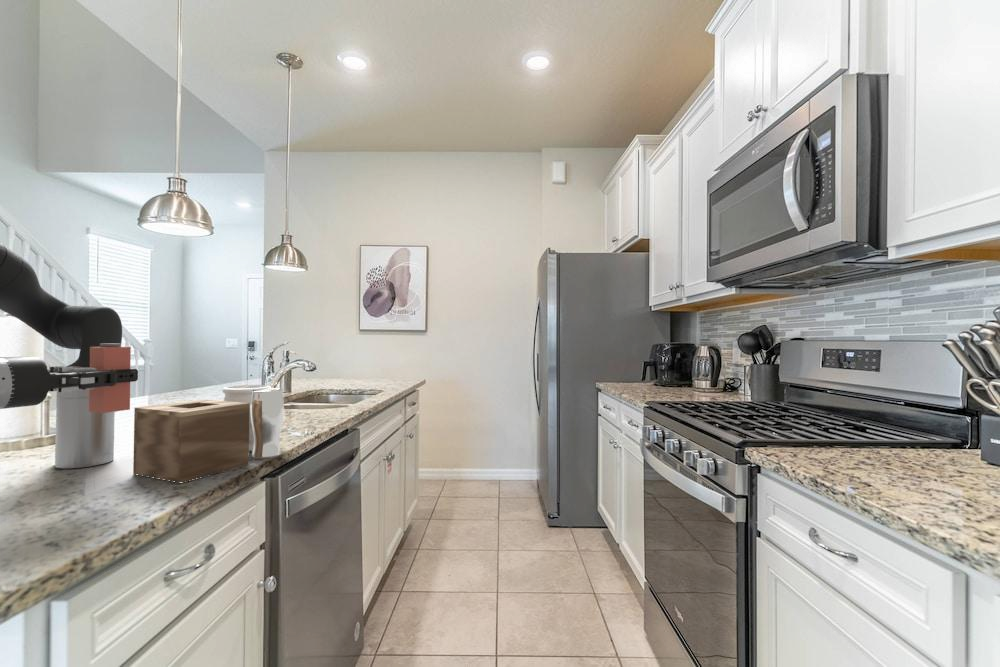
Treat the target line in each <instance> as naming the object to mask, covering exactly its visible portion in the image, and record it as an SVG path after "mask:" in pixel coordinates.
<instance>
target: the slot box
mask: <svg viewBox="0 0 1000 667" xmlns="http://www.w3.org/2000/svg"><path fill="white" fill-rule="evenodd" d="M133 412H134V413H133V414H134V419H133V422H134V424H133V468H132V469H133V472H132V474H138V475H143V476H149V477H154V478H160V479H165V480H170V481H175V482H185V481H189V480H192V479H196V478H200V477H203V478H205V477H204V476H207V477H209V476H208V475H211V476H213V475H212V474H214V475H217V474H216V473H218V474H221V473H224V471H225V472H228V471H232V470H236V469H238V468H242V467H243V468H244V467H245V466H248V465H250V464H249V462H250V459H249V458H250V457H249V455H250V452H249V412H250V403H242V402H230V401H224V400H217V399H215V400H214V399H205V398H204V399H198V400H197V399H196V400H189V401H179V402H171V403H170V402H169V403H165V404H164V403H163V404H156V405H155V404H154V405H145V406H137V407H134V411H133ZM220 472H221V473H220ZM143 476H142V477H143ZM200 479H201V478H200ZM196 480H197V479H196ZM189 482H190V481H189Z"/></svg>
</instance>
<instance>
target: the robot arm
mask: <svg viewBox="0 0 1000 667" xmlns="http://www.w3.org/2000/svg"><path fill="white" fill-rule="evenodd" d="M0 310H1V311H3V312H4V313H7V314H8V315H10V316H13V317H14V318H16V319H18V320H19V321H21V322H22V323H24V324H26V325H27V326H28V327H29V328H31V329H33V331H36V332H37V333H38V334H39V335H41V336H42V337H44V338H45V339H47V340H48V341H50V342H51V343H53V344H55V345H57V346H58V347H61V348H63V349H64V348H65V349H69V350H79V354H78V358H77V359H76V360H75V361H74V362H72V363H71V364H69V365H67V366H66V365H65V366H61V365H60V366H59V365H58V366H56V365H55V366H54V365H53V366H47V364H46V362H45V361H44V360H43V359H42V358H40V357H37V356H34V355H33V356H30V355H29V356H3V357H1V356H0V410H4V409H12V408H22V407H31V406H32V407H33V406H37V405H40V404H42V403H43V402H44V401H45V399H46V398H47V397H48V393H49V392H56V395H55V396H56V404H55V405H56V406H55V407H56V409H55V412H56V413H55V417H56V418H55V441H54V442H55V443H54V445H55V448H54V450H55V451H54V468H57V469H80V468H88V467H93V466H99V465H104V464H107V463H110V462H112V461H114V457H115V454H114V452H115V418H116V417H115V415H116V414H115V412H116V411H115V412H108V413H98V412H90V411H89V389H94V388H96V387H104V386H113V385H116V383H122V382H130V383H132V382H137V381H138V380H139V371H138V369H137V368H130V369H121V370H111V369H108V370H97V369H96V368H92V367H90V347H100V344H102V343H121V344H122V339H123V325H122V320H121V317H120V315H119V314H118V312H117V311H115V309H113V308H112V307H108V306H103V305H74V304H73V305H72V304H69V303H66V302H64V301H62V300H60V299H59V298H57V297H55V296H54V295H52V294H50V293H48V292H47V291H46V290H44V289H43V288H42V286H41V284H40V281H39V278H38V276H37V273H36V271H35V269H34V267H32V265H31V263H29V262H28V261H27V260H26V259H24V258H23V256H20V254H18V253H16V252H15V251H13V250H12V249H11V248H9V247H7V246H6V245H5V244H3V243H1V242H0ZM104 376H105V381H104Z"/></svg>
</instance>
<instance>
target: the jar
mask: <svg viewBox="0 0 1000 667" xmlns="http://www.w3.org/2000/svg"><path fill="white" fill-rule="evenodd" d="M266 388H272V386H271V385H265V384H246V385H245V384H244V385H232V386H231V385H230V386H225V387H223V388H222V392H223V394H224V397H223V401H230V402H242V403H250V397H251V390H255V389H266ZM252 449H253V432H252V427H251V421H250V412H249V453H250V452H252Z"/></svg>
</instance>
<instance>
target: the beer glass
mask: <svg viewBox="0 0 1000 667" xmlns="http://www.w3.org/2000/svg"><path fill="white" fill-rule="evenodd" d="M284 404H285V400H284V389H283V388H279V387H278V388H276V387H275V388H273V387H271V388H266V389H255V390H251V397H250V421H251V427H252V432H253V449H252V451H251V455H250V457H251V458H252V459H254V460H268V459H274V458H278V457H280V456H281V455H282V450H281V444H280V435H281V429H282V425H283V420H284V412H285V411H284V410H285V405H284Z"/></svg>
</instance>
